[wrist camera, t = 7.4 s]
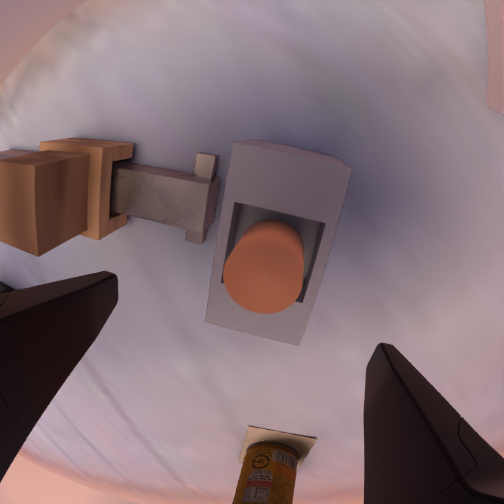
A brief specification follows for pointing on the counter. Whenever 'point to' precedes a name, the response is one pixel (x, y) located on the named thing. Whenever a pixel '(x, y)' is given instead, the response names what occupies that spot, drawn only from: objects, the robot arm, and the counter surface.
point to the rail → (163, 193)
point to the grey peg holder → (284, 209)
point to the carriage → (59, 193)
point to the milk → (495, 53)
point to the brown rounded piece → (266, 267)
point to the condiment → (270, 466)
